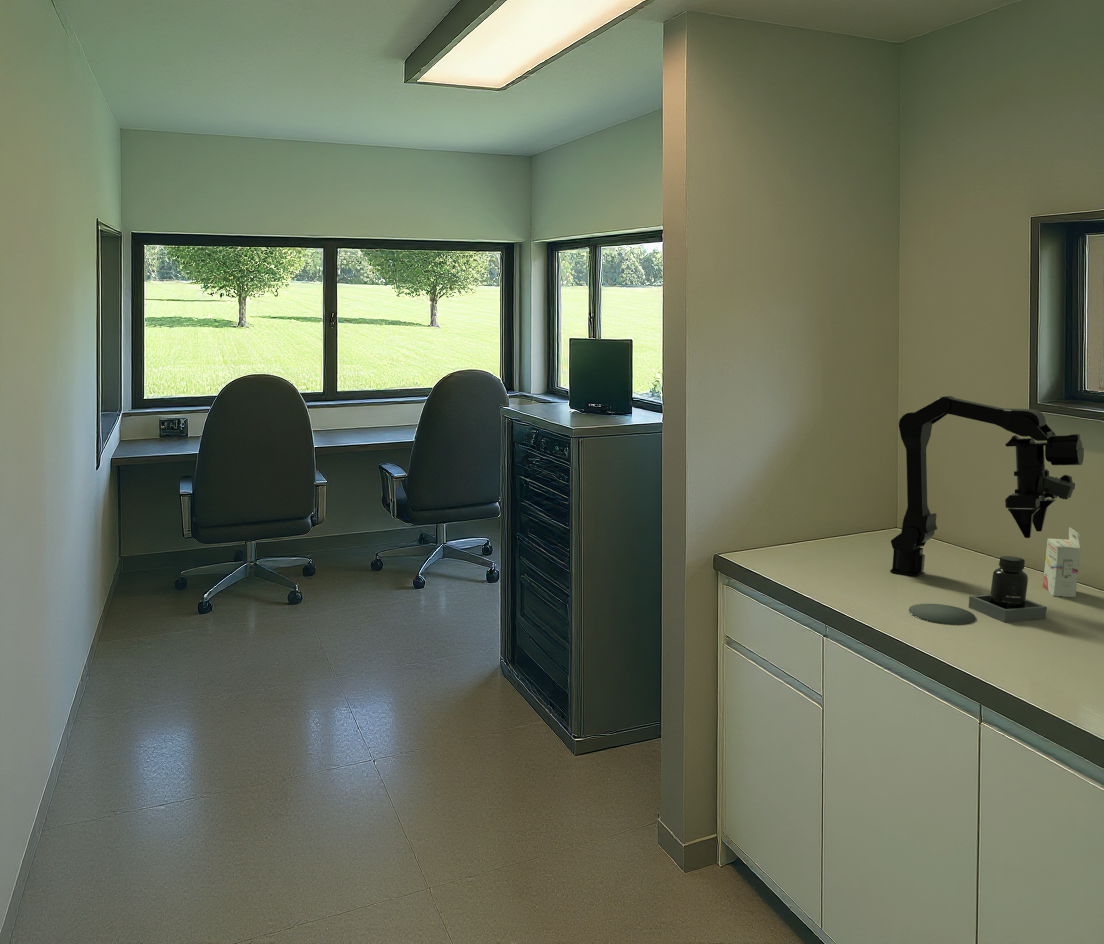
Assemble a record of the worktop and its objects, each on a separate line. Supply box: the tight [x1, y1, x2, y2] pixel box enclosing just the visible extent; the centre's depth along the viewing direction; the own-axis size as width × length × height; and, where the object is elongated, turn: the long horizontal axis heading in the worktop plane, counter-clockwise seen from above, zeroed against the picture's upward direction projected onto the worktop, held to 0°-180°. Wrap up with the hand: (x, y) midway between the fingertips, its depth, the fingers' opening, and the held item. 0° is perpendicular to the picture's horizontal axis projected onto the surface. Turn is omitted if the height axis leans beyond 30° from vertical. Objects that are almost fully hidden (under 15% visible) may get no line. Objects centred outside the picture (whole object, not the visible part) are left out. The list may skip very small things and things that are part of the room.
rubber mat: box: [908, 603, 976, 625], centre depth 201 cm, size 13×13×1 cm
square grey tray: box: [968, 593, 1048, 623], centre depth 203 cm, size 11×11×2 cm
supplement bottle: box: [990, 555, 1029, 609], centre depth 202 cm, size 7×7×12 cm
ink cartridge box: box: [1042, 526, 1081, 598], centre depth 218 cm, size 9×5×15 cm, turn 168°
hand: (1033, 534), depth 214 cm, fingers open, 9 cm apart
